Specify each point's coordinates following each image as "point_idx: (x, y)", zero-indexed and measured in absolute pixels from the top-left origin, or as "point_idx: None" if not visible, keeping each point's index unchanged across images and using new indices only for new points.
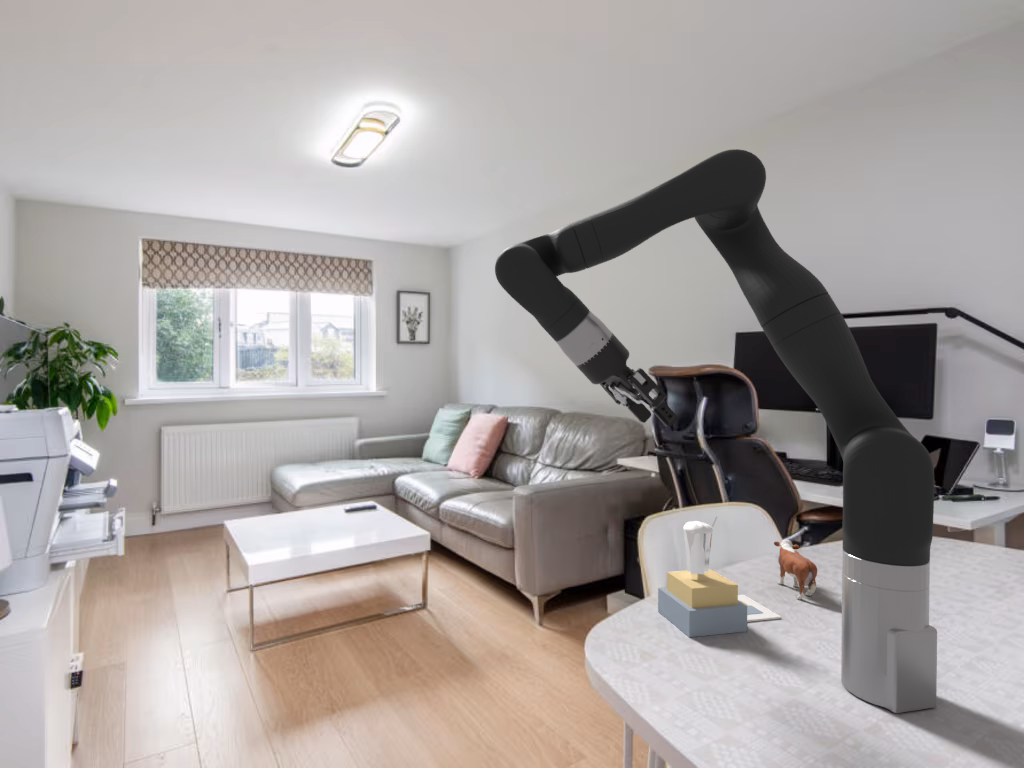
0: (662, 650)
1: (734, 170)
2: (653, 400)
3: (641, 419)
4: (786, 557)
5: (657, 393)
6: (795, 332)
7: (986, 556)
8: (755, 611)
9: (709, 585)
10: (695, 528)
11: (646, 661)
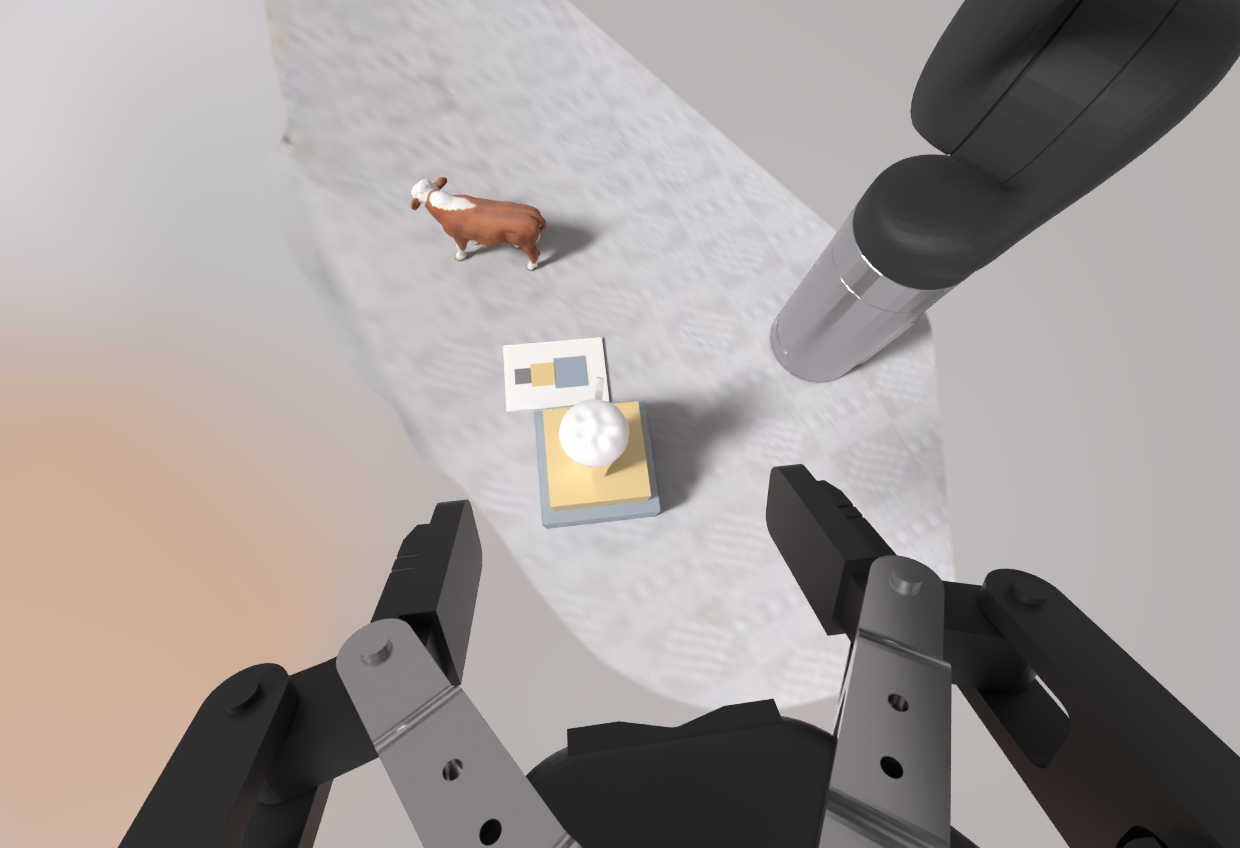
0: (696, 579)
1: None
2: (1047, 697)
3: (478, 573)
4: (476, 226)
5: (1009, 641)
6: None
7: None
8: (578, 365)
9: (637, 454)
10: (620, 448)
11: (731, 620)
